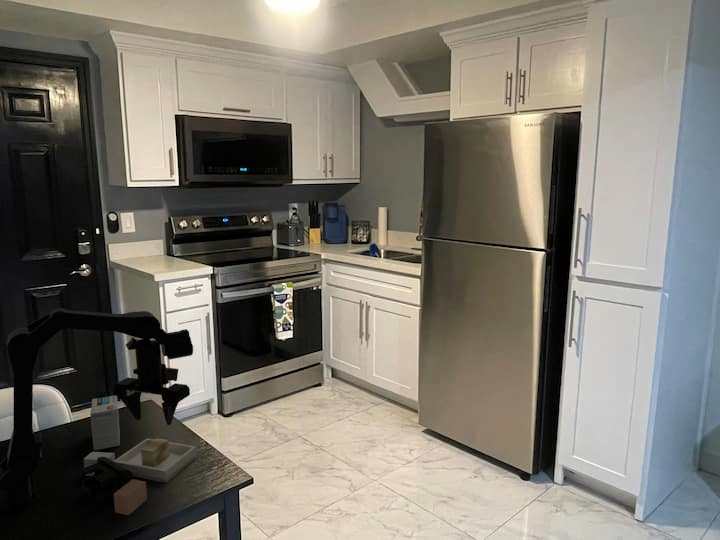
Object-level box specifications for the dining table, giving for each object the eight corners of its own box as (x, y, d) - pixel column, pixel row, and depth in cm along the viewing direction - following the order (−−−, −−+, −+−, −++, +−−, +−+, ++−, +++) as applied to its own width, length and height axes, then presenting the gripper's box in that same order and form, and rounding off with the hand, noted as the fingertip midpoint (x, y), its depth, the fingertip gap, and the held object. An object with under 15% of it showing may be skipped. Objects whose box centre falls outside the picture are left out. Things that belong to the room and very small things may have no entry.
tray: (166, 482, 126) (165, 471, 125) (114, 472, 131) (112, 461, 130) (196, 457, 138) (196, 446, 137) (147, 448, 142) (147, 438, 142)
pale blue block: (116, 469, 132) (114, 453, 131) (107, 477, 129) (106, 460, 128) (94, 468, 133) (92, 451, 132) (85, 475, 130) (83, 458, 129)
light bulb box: (94, 434, 151) (90, 398, 149) (120, 429, 153) (117, 394, 152) (93, 451, 141) (89, 413, 139) (120, 445, 144) (117, 408, 142)
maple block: (154, 468, 131) (152, 451, 130) (142, 466, 132) (140, 449, 131) (169, 456, 136) (168, 440, 136) (158, 454, 137) (156, 438, 137)
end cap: (134, 491, 123) (132, 465, 122) (105, 506, 117) (102, 479, 116) (112, 477, 129) (109, 452, 127) (82, 491, 123) (79, 465, 122)
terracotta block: (128, 515, 114) (126, 496, 113) (115, 512, 115) (113, 494, 114) (147, 499, 120) (145, 481, 119) (134, 497, 121) (132, 479, 120)
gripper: (200, 355, 134) (204, 413, 137) (140, 349, 140) (145, 404, 143) (173, 371, 124) (177, 432, 127) (108, 363, 129) (114, 422, 132)
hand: (154, 422), depth 132 cm, fingers open, 9 cm apart
